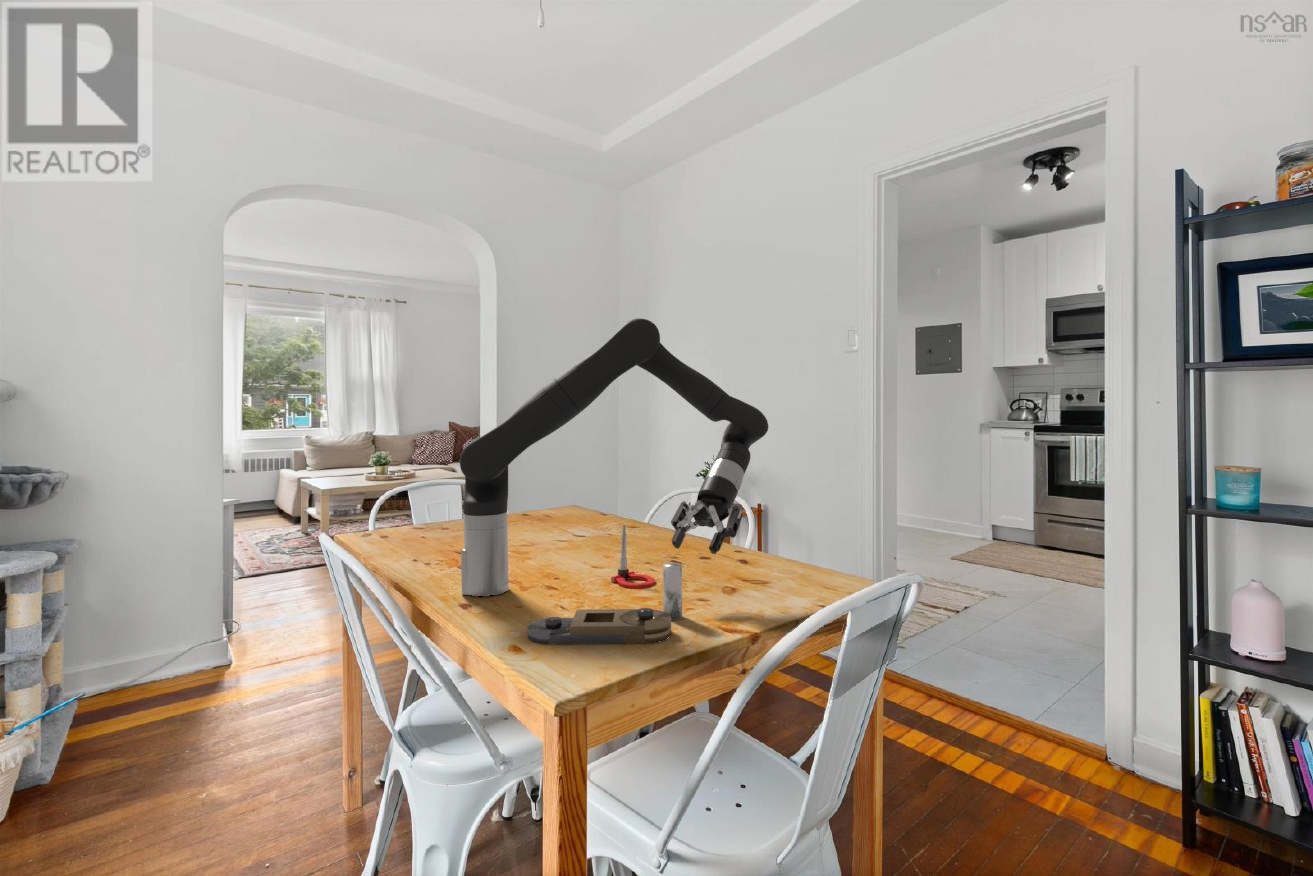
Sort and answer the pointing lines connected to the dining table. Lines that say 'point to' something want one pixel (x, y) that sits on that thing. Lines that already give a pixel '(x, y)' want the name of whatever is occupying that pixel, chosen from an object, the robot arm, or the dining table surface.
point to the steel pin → (672, 589)
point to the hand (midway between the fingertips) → (693, 548)
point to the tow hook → (624, 572)
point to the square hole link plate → (603, 627)
